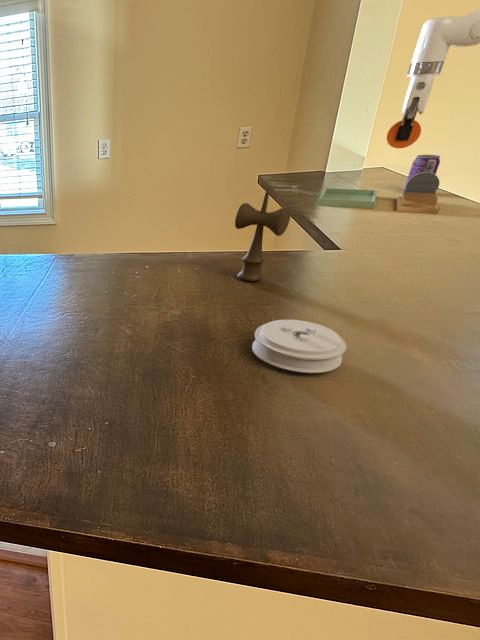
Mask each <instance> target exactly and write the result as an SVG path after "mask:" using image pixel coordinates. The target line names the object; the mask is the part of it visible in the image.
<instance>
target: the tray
mask: <svg viewBox="0 0 480 640" xmlns="http://www.w3.org/2000/svg"><path fill="white" fill-rule="evenodd" d="M377 191H378V189H359V188H358V189H356V188H334V187H333V188H332V187H325V188H324V190H323V192H322V193H321V195H320V198H319V200H318V203H317V206H323V207H337V208H339V207H340V208H341V207H342V208H358V209H374V208H375V204H376V200H377Z"/></svg>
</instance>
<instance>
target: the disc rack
mask: <svg viewBox="0 0 480 640" xmlns="http://www.w3.org/2000/svg"><path fill="white" fill-rule="evenodd" d="M395 199H396V200H395V206H396V209H395V211H396V212H403V213H404V212H406V213H420V212H422V213H423V214H439V212H440V206H439V203H438V200H439V199H438V196H437V191H436V192H435V193H412V192H406V191H403V192H402V195H401V196H397V197H396V198H395ZM422 213H421V214H422Z"/></svg>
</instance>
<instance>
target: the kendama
mask: <svg viewBox="0 0 480 640" xmlns="http://www.w3.org/2000/svg"><path fill="white" fill-rule="evenodd" d="M269 195H270V187H267V188H266V189H265V192H264V195H263V200H262V204H261V209H260V210H258V209H256V208H255V207H253V206H252V205H251V204H249V203H248V202H244V203H242V204H241V205H239V207H238V209H237V210H236V214H235V217H234V227H235V228H236V229H237V230H240V229H245V228H247V227H250V226H256V227H255V231H254V235H253V237H252V241H251V243H250V246H249V249H248V250H247V253H246V254H245V255H243V256H242V257H241V260H242V262H243V267H242V270H241V271H239V272H238V273H237V278H238V279H240V280H242V281H245V282H259V281H261V280H262V279H264V275H263V273H262V265H263V263H265V261H266V258H265V257H264V256H263V236H264V229H265V228H267V229H269V230H270V231H271V232H272V233H273V234H274V235H275V236H277V237H280V236H282V235H283V234H284V233H285V232H286V230H287V228H288V226H289V223H290V220H291V215H292V209H291V207H290V206H288V205H286V206H283V207H280V208H279V209H276V210H274V211H270V212H268V211H267V208H268V203H269V197H270V196H269ZM264 227H265V228H264Z"/></svg>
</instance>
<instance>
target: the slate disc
mask: <svg viewBox="0 0 480 640" xmlns="http://www.w3.org/2000/svg"><path fill="white" fill-rule="evenodd" d="M405 184H406V183H405ZM439 187H440V178H439V177H438V176H437V174H436V175H435V174H434V173H431V172H422V173H418V174H416V175H414V176H413V177H411V178H410V179H409V181H408V182H407V184H406V192H412V193H435V192H436V193H437V190H438V188H439Z"/></svg>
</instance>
